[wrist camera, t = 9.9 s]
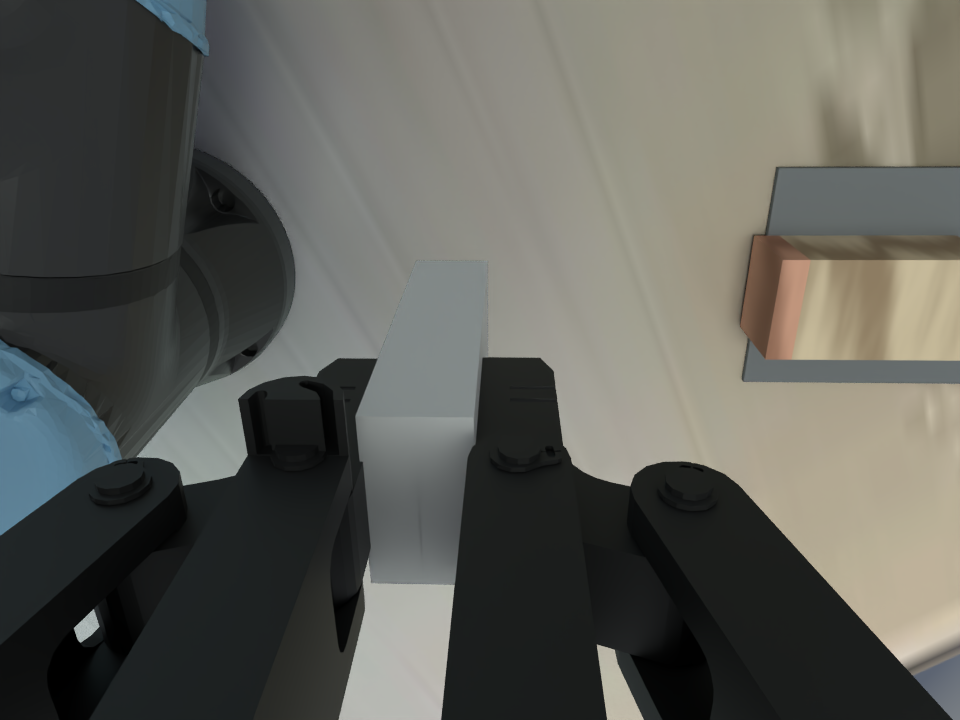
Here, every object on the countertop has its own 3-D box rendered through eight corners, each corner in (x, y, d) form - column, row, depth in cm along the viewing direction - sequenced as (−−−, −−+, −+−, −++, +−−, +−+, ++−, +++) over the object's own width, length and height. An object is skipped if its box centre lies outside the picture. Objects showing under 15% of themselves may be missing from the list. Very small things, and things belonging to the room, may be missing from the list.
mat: (741, 379, 48) (743, 381, 48) (776, 167, 42) (779, 168, 42) (1047, 381, 47) (1051, 384, 47) (1126, 166, 41) (1131, 167, 41)
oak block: (765, 359, 42) (976, 360, 41) (782, 260, 39) (1008, 260, 39) (740, 326, 46) (930, 327, 46) (754, 235, 44) (955, 235, 43)
